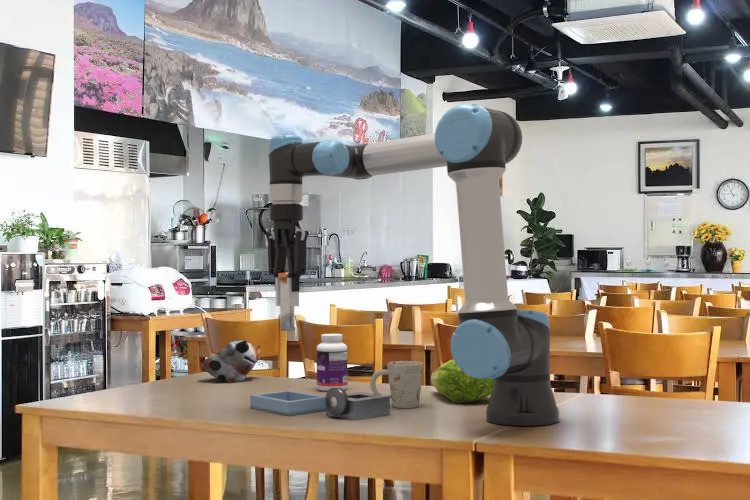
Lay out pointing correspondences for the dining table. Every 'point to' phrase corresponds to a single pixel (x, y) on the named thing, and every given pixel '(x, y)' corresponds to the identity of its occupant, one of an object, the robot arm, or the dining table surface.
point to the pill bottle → (331, 362)
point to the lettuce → (460, 384)
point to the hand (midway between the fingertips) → (287, 305)
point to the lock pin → (285, 305)
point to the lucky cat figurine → (233, 361)
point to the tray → (288, 402)
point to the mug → (402, 382)
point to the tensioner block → (356, 404)
